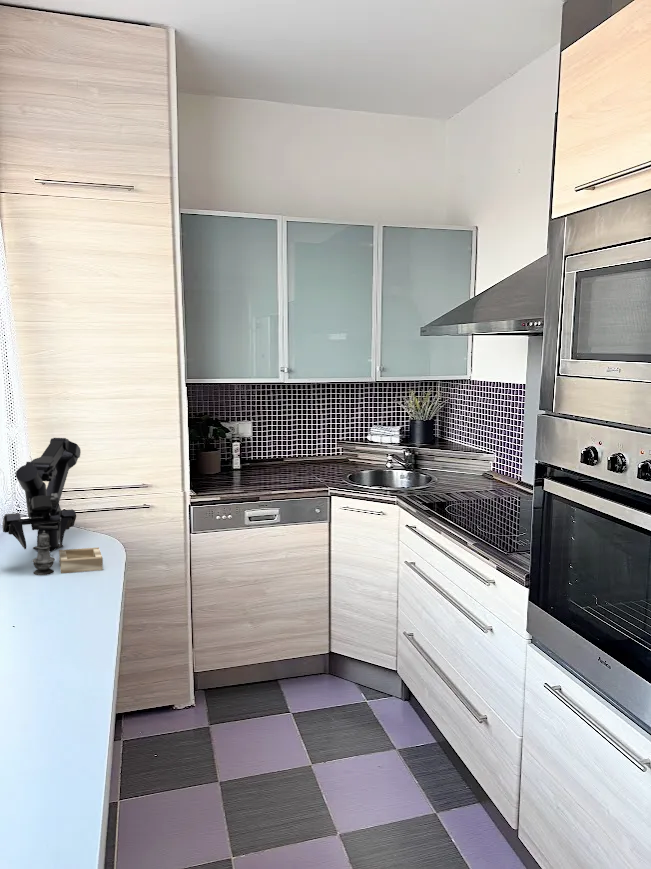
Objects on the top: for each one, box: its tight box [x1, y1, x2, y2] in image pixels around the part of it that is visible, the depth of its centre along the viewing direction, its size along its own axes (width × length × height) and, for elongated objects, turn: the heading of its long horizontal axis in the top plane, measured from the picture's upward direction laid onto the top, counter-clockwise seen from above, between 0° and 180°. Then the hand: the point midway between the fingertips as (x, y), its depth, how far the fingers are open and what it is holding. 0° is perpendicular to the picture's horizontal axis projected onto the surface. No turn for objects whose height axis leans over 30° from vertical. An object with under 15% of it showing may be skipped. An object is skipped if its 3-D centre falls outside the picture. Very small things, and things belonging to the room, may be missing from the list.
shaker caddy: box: [58, 547, 104, 574], centre depth 190 cm, size 11×11×4 cm
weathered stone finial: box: [31, 531, 56, 576], centre depth 183 cm, size 6×6×12 cm
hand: (43, 546), depth 182 cm, fingers open, 9 cm apart
